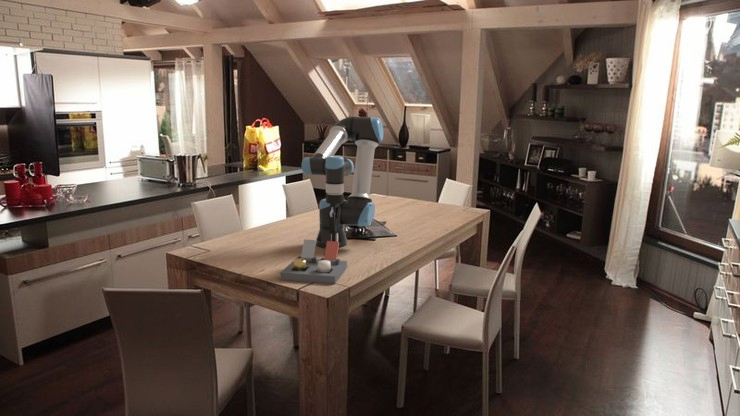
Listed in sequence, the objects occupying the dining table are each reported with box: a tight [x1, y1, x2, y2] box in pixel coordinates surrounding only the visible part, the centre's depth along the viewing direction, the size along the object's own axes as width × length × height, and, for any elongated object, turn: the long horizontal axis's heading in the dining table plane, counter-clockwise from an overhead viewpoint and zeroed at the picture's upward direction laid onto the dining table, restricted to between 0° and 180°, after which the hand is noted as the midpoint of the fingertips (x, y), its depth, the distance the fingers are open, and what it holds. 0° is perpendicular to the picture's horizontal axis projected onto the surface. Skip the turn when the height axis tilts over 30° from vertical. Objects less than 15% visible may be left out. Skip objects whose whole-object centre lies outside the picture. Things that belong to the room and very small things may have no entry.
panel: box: [280, 255, 348, 285], centre depth 203 cm, size 20×22×5 cm
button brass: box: [293, 258, 306, 271], centre depth 200 cm, size 5×5×4 cm
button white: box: [318, 260, 331, 273], centre depth 198 cm, size 5×5×4 cm
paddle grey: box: [300, 239, 317, 262], centre depth 210 cm, size 2×5×9 cm
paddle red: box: [323, 241, 340, 264], centre depth 209 cm, size 2×5×9 cm
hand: (334, 248), depth 214 cm, fingers closed
